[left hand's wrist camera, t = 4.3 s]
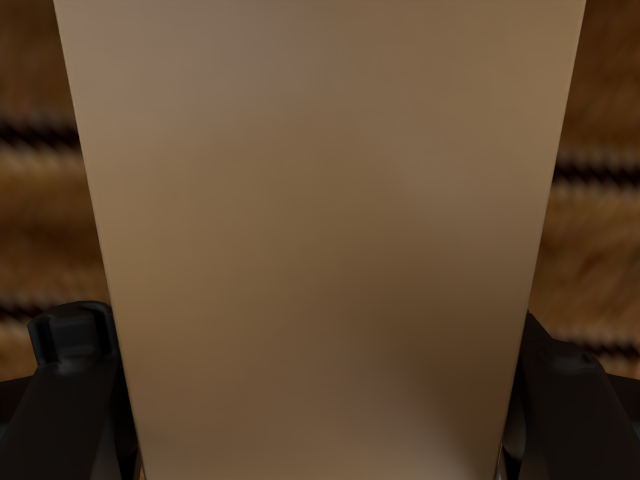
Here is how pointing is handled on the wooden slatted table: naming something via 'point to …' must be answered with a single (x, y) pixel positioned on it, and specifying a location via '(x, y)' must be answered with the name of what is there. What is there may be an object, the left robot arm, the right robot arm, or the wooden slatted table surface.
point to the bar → (319, 223)
